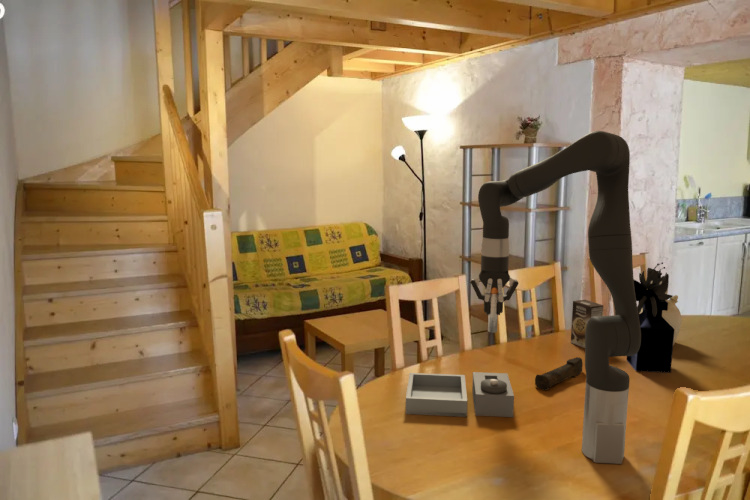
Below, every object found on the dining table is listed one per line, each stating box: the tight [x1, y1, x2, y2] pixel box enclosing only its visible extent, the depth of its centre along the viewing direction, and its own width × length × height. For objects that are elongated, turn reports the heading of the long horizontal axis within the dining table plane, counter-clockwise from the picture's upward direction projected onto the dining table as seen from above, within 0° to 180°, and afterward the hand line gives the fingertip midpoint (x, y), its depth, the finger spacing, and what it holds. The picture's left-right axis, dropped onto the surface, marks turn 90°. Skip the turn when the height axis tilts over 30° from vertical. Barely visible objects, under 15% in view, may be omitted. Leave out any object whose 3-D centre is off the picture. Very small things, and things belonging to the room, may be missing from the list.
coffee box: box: [570, 299, 605, 349], centre depth 210 cm, size 9×6×16 cm
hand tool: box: [534, 356, 584, 391], centre depth 177 cm, size 23×5×6 cm, turn 127°
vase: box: [626, 262, 674, 373], centre depth 186 cm, size 14×12×35 cm
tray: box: [405, 372, 468, 418], centre depth 163 cm, size 18×16×4 cm
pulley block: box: [471, 371, 515, 418], centre depth 161 cm, size 16×10×8 cm, turn 173°
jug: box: [639, 276, 683, 346], centre depth 212 cm, size 15×16×25 cm
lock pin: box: [487, 287, 499, 334], centre depth 161 cm, size 3×3×14 cm
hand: (493, 313), depth 161 cm, fingers closed on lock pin, 2 cm apart
